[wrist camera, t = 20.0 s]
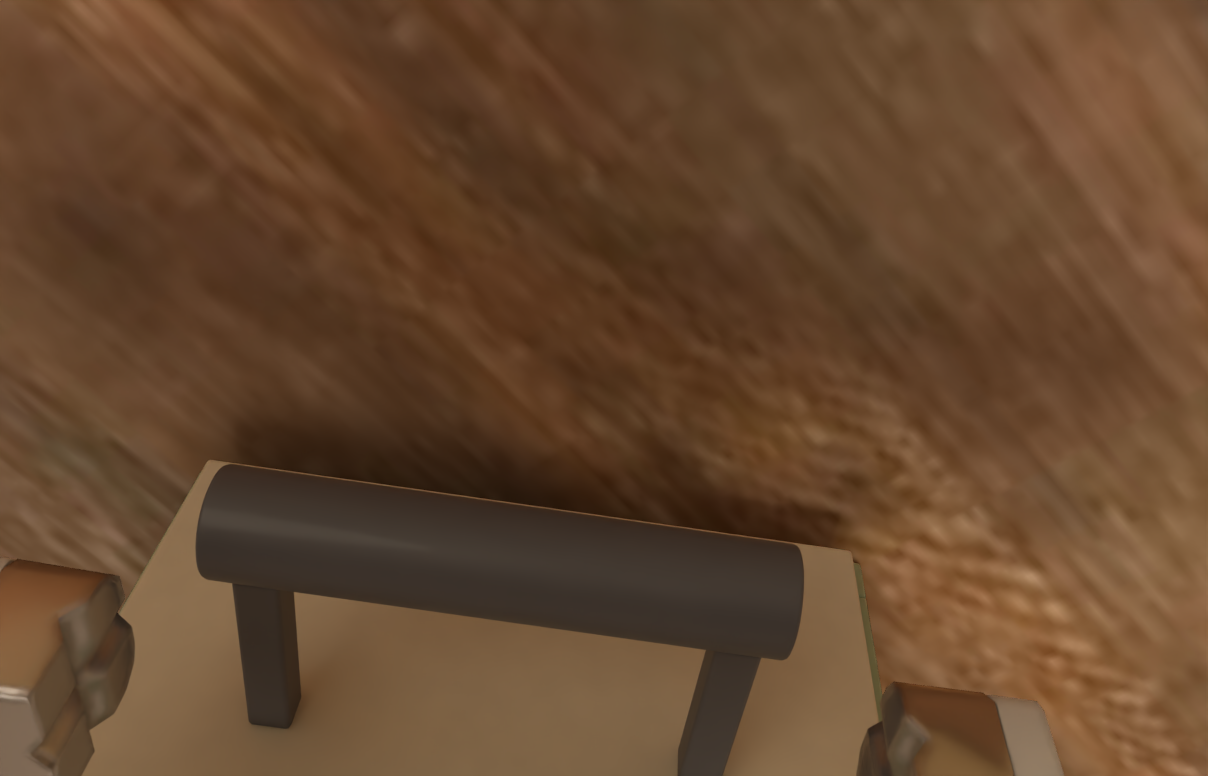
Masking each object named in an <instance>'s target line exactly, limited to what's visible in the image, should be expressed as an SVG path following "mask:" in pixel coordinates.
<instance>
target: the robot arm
mask: <svg viewBox="0 0 1208 776" xmlns="http://www.w3.org/2000/svg"><path fill="white" fill-rule="evenodd" d="M124 600H125V594H124V591H123V587H122V584H121V580H120V576H116V575H111V574H105V573H99V572H93V571H87V570H81V569H75V568H69V567H63V566H57V565H51V564H45V563H39V562H33V561H27V560H21V559H14V558H7V557H1V556H0V776H82V774H83V772H84V770H85V768H86V766H87V765H88V763H89V761H90V759H91V757H92V755H93V753H94V752H95V750H94V746H93V742H92V738H91V734H90V730H91V729H92V728H94V727H95V726H97V725H98V724H100V723H101V722H103V721H104V720H106V719H107V718H109V717H110V716H112V715H113V714H115V712H116V710H117V708H118V706H119V704H120V702H121V700H122V698H123V696H124V694H125V692H126V690H127V686H128V683H129V679H130V676H131V672H132V669H133V665H134V656H135V639H134V634H133V629H132V626H131V625H130V624H129V623H128V622H127V621H126V620H125V619H123V618H122V617H121V616H120V615H119V614H118V613H117V612H118V610H119V608H120V607H121V605H122V603H123V601H124ZM879 703H880V710H881V716H882V721H880V722H879V723H877V724H875V725H873V726H871V727H870V728H868V729H867V732H866V735H865V737H864V740H863V742H862V745H861V747H860V753H859V759H858V766H857V772H856V776H1064V773H1063V769H1062V766H1061V763H1060V760H1059V757H1058V754H1057V750H1056V747H1055V744H1054V741H1053V738H1052V734H1051V731H1050V728H1049V725H1048V722H1047V719H1046V715H1045V712H1044V710H1043V709H1042V707H1041V706H1040V705H1039V704H1038V703H1037V701H1031V700H1024V699H1017V698H1010V697H1003V696H996V695H985V694H984V693H981V692H973V691H965V690H957V689H949V688H941V687H933V686H925V685H917V684H909V683H901V682H893V683H891V684H890V685H889V686H888V687H887V688H886V690H885V692H884V694H883V696H882V698H881V700H880V702H879Z"/></svg>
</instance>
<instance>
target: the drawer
mask: <svg viewBox="0 0 1208 776" xmlns="http://www.w3.org/2000/svg"><path fill="white" fill-rule="evenodd" d="M119 615H120V616H121V617H122V618H123V619H125V620H126V621H127V622H128V623H129V624H130V625H131V626H132V629H133V634H134V639H135V656H134V665H133V669H132V672H131V676H130V679H129V683H128V686H127V690H126V692H125V694H124V696H123V698H122V700H121V702H120V704H119V706H118V708H117V710H116V712H115V714H113V715H112V716H110V717H109V718H107V719H106V720H104V721H103V722H101V723H100V724H98V725H97V726H95V727H94V728H92V729H91V730H90V734H91V738H92V742H93V746H94V750H95V752H94V753H93V755H92V757H91V759H90V761H89V763H88V765H87V766H86V768H85V770H84V772H83V774H82V776H856V772H857V766H858V759H859V753H860V747H861V745H862V742H863V740H864V737H865V735H866V732H867V729H868V728H870V727H871V726H873V725H875V724H877V723H879V719H878V713H877V707H876V700H875V694H874V688H873V682H872V676H871V669H870V663H869V657H868V651H867V644H866V638H865V632H864V626H863V620H862V613H861V607H860V601H859V595H858V589H857V582H856V576H855V570H854V564H853V557H852V553H851V552H850V551H848V550H842V549H835V548H828V547H821V546H814V545H807V544H800V543H793V542H786V541H779V540H772V539H765V538H758V537H751V536H744V535H737V534H729V533H722V532H715V531H708V530H701V529H694V528H687V527H680V526H673V525H666V524H659V523H652V522H645V521H638V520H631V519H624V518H617V517H610V516H603V515H596V514H589V513H582V512H575V511H568V510H561V509H554V508H547V507H540V506H533V505H526V504H519V503H512V502H505V501H498V500H491V499H484V498H477V497H470V496H463V495H456V494H449V493H442V492H435V491H428V490H421V489H414V488H407V487H399V486H392V485H385V484H378V483H371V482H364V481H357V480H350V479H343V478H336V477H329V476H322V475H315V474H308V473H301V472H294V471H287V470H280V469H273V468H266V467H259V466H252V465H245V464H238V463H231V462H224V461H217V460H209V461H207V463H206V465H205V466H204V468H203V470H202V471H201V473H200V475H199V477H198V478H197V480H196V482H195V484H194V485H193V487H192V489H191V491H190V492H189V494H188V496H187V497H186V499H185V501H184V503H183V504H182V506H181V508H180V510H179V511H178V513H177V515H176V517H175V518H174V520H173V522H172V523H171V525H170V527H169V529H168V530H167V532H166V534H165V536H164V537H163V539H162V541H161V543H160V544H159V546H158V548H157V549H156V551H155V553H154V555H153V556H152V558H151V560H150V562H149V563H148V565H147V567H146V569H145V570H144V572H143V574H142V575H141V577H140V579H139V581H138V582H137V584H136V586H135V588H134V589H133V591H132V593H131V595H130V596H129V598H128V600H127V602H126V603H125V605H124V607H123V608H122V610H121V612H120V614H119Z"/></svg>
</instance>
